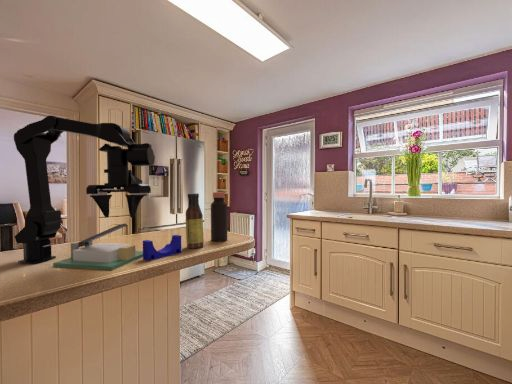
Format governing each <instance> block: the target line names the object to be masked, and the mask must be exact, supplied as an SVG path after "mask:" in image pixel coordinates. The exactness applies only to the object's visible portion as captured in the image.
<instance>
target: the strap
mask: <svg viewBox="0 0 512 384" xmlns="http://www.w3.org/2000/svg"><path fill="white" fill-rule="evenodd" d="M127 226H128V225H127V223H121V224H117V225H115V226H113V227H111V228H109V229H105V230H103V231H102V232H99V233H97V234H95V235H92V236H89V237H88V238H86V239H83V240H80V241H79V242H77V243H79V248H83V247H85V246H86V245H87V244H88V242H90V241H92V242H93V241H95V240H97V239H100V238H101V237H105V236H107V235H109V234H111V233H114V232H116V231H118V230H120V229H123V228H125V227H127Z"/></svg>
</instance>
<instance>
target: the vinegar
mask: <svg viewBox="0 0 512 384" xmlns="http://www.w3.org/2000/svg"><path fill="white" fill-rule="evenodd" d="M225 195H226V192H224V191H222V192H221V191H219V192H218V191H216V192H215V191H213V192H212V199H213V201H212V203H211V204H210V240H211V241H212V242H219V241H220V242H225V241H227V240H228V204H227V203H226V201H225V197H226V196H225Z"/></svg>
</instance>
